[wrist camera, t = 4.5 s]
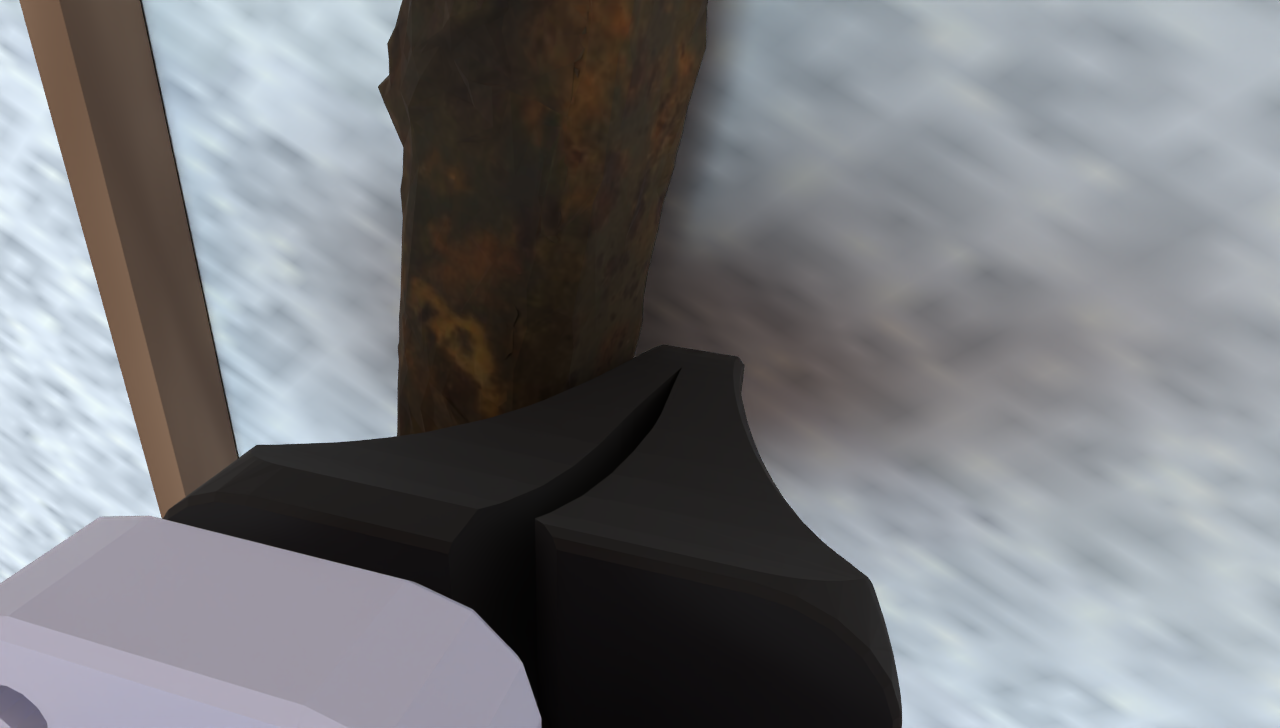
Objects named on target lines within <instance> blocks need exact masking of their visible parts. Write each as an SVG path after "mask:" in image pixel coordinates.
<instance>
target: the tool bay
mask: <svg viewBox="0 0 1280 728" xmlns="http://www.w3.org/2000/svg"><path fill="white" fill-rule="evenodd" d="M20 4H21V8H22V11H23V15H24V19H25V22H26V26H27V30H28V33H29V37H30V40H31V44H32V48H33V51H34V55H35V59H36V62H37V66H38V70H39V73H40V77H41V80H42V84H43V88H44V91H45V95H46V99H47V102H48V106H49V110H50V113H51V117H52V120H53V124H54V128H55V131H56V135H57V139H58V142H59V146H60V150H61V153H62V157H63V160H64V164H65V168H66V171H67V175H68V179H69V182H70V186H71V190H72V193H73V197H74V200H75V204H76V208H77V211H78V215H79V219H80V222H81V226H82V230H83V233H84V237H85V240H86V244H87V248H88V251H89V255H90V259H91V262H92V266H93V270H94V273H95V277H96V280H97V284H98V288H99V291H100V295H101V299H102V302H103V306H104V310H105V313H106V317H107V321H108V324H109V328H110V331H111V335H112V339H113V342H114V346H115V350H116V353H117V357H118V361H119V364H120V368H121V371H122V375H123V379H124V382H125V386H126V390H127V393H128V397H129V401H130V404H131V408H132V411H133V415H134V419H135V422H136V426H137V430H138V433H139V437H140V441H141V444H142V448H143V451H144V455H145V459H146V462H147V466H148V470H149V473H150V477H151V481H152V484H153V488H154V491H155V495H156V499H157V502H158V506H159V510H160V513H161V517H162V519H163V517H164V516H165V514H166V513H167V511H168V509H170V508H171V507H173V506H174V505H175V504H177V503H178V502H179V501H181V500H182V499H183V498H185V497H186V496H188V495H189V494H190V493H192V492H193V491H194V490H196V489H197V488H199V487H200V486H201V485H203V484H204V483H205V482H207V481H208V480H209V479H211V478H212V477H214V476H215V475H216V474H218V473H219V472H220V471H222V470H223V469H225V468H226V467H227V466H229V465H230V464H231V463H233V462H234V461H235V460H237V459H238V457H237V453H236V448H235V443H234V439H233V434H232V429H231V425H230V420H229V415H228V411H227V406H226V401H225V397H224V392H223V387H222V382H221V378H220V373H219V368H218V364H217V359H216V354H215V350H214V345H213V340H212V336H211V331H210V326H209V322H208V317H207V312H206V307H205V303H204V298H203V293H202V289H201V284H200V279H199V275H198V270H197V265H196V261H195V256H194V251H193V247H192V242H191V237H190V233H189V228H188V223H187V218H186V214H185V209H184V204H183V200H182V195H181V190H180V186H179V181H178V176H177V172H176V167H175V162H174V158H173V153H172V148H171V144H170V139H169V134H168V129H167V125H166V120H165V115H164V111H163V106H162V101H161V97H160V92H159V87H158V83H157V78H156V73H155V69H154V64H153V59H152V54H151V50H150V45H149V40H148V36H147V31H146V26H145V22H144V17H143V12H142V8H141V3H140V0H20Z"/></svg>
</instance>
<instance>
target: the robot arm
mask: <svg viewBox="0 0 1280 728" xmlns="http://www.w3.org/2000/svg"><path fill="white" fill-rule="evenodd" d="M743 374H744V364H743V363H742V361H741V360H740V359H739V357H737V356H731V355H724V354H718V353H712V352H706V351H700V350H693V349H687V348H681V347H675V346H668V345H661V346H658V347H656V348H653V349H651V350H649V351H647V352H645V353H643V354H641V355H639V356H637V357H635V358H633V359H631V360H629V361H627V362H625V363H624V364H622V365H620V366H618V367H616V368H614V369H612V370H610V371H608V372H606V373H604V374H602V375H600V376H598V377H596V378H594V379H591V380H589V381H587V382H585V383H583V384H580V385H578V386H576V387H573V388H571V389H569V390H566V391H564V392H562V393H559V394H557V395H555V396H552V397H550V398H548V399H545V400H543V401H540V402H538V403H535V404H532V405H529V406H526V407H523V408H521V409H517V410H514V411H511V412H508V413H504V414H501V415H498V416H495V417H491V418H487V419H484V420H480V421H475V422H471V423H466V424H461V425H457V426H452V427H447V428H443V429H438V430H433V431H429V432H423V433H417V434H410V435H403V436H396V437H389V438H380V439H371V440H362V441H350V442H337V443H311V444H285V445H256V446H255V447H253V448H252V449H251V450H249V451H248V452H246V453H245V454H244V455H242V456H241V457H240V458H238V459H237V460H235V461H234V462H233V463H231V464H230V465H229V466H227V467H226V468H225V469H223V470H222V471H220V472H219V473H218V474H216V475H215V476H214V477H212V478H211V479H209V480H208V481H207V482H205V483H204V484H203V485H201V486H200V487H199V488H197V489H196V490H194V491H193V492H192V493H190V494H189V495H188V496H186V497H185V498H183V499H182V500H181V501H179V502H178V503H177V504H175V505H174V506H173V507H171V508H170V509H168V511H167V513H166V514H165V516H164V517H163V519H161V518H156V517H152V516H110V517H99V518H97V519H96V520H94V521H93V522H91V523H90V524H88V525H87V526H85V527H84V528H82V529H81V530H79V531H78V532H76V533H75V534H74V535H72V536H71V537H69V538H68V539H66V540H65V541H63V542H62V543H60V544H59V545H57V546H56V547H54V548H53V549H51V550H50V551H48V552H47V553H45V554H44V555H42V556H41V557H39V558H38V559H36V560H35V561H33V562H32V563H30V564H29V565H27V566H26V567H24V568H23V569H21V570H20V571H18V572H17V573H15V574H14V575H12V576H11V577H9V578H8V579H6V580H5V581H3V582H2V583H0V728H902V705H901V695H900V688H899V682H898V676H897V670H896V665H895V660H894V655H893V651H892V647H891V643H890V639H889V635H888V632H887V628H886V624H885V621H884V618H883V614H882V611H881V608H880V605H879V602H878V599H877V596H876V593H875V590H874V587H873V584H872V583H871V581H870V580H869V578H868V577H867V576H866V575H864V574H863V573H862V572H860V571H859V570H858V569H857V568H855V567H854V566H853V565H851V564H850V563H849V562H848V561H846V560H845V559H844V558H842V557H841V556H840V555H838V554H837V553H836V552H835V551H833V550H832V549H831V548H829V547H828V546H827V545H826V544H825V543H824V542H822V541H821V540H820V539H819V538H818V537H817V536H816V535H815V534H814V533H813V532H812V531H811V530H810V529H809V528H808V527H807V526H806V525H805V524H804V523H803V522H802V521H801V519H800V518H799V517H798V516H797V514H796V513H795V512H794V511H793V509H792V508H791V507H790V506H789V504H788V503H787V502H786V501H785V499H784V498H783V496H782V495H781V493H780V491H779V490H778V488H777V487H776V485H775V483H774V482H773V480H772V478H771V477H770V475H769V473H768V471H767V469H766V467H765V465H764V463H763V461H762V459H761V457H760V455H759V453H758V450H757V448H756V445H755V443H754V440H753V437H752V435H751V432H750V429H749V426H748V422H747V419H746V415H745V410H744V406H743V402H742V396H741V391H742V382H743Z"/></svg>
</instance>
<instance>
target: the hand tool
mask: <svg viewBox="0 0 1280 728" xmlns="http://www.w3.org/2000/svg"><path fill="white" fill-rule="evenodd" d="M707 3H708V0H403V1H402V4H401V7H400V11H399V15H398V19H397V22H396V26H395V29H394V31H393V33H392V35H391V37H390V39H389V42H388V54H389V76H388V77H387V78H386V79H385V80H384V81H383V82H382V83H381V84H380V85H379V86H378V88H379V91H380V93H381V96H382V98H383V101H384V103H385V106H386V108H387V110H388V112H389V115H390V117H391V119H392V122H393V124H394V126H395V129H396V131H397V133H398V136H399V138H400V140H401V143H402V145H403V147H404V148H403V177H402V183H401V201H402V213H403V226H402V262H401V299H400V312H399V345H398V356H399V369H398V428H397V436H403V435H410V434H417V433H423V432H429V431H433V430H438V429H443V428H447V427H452V426H457V425H461V424H466V423H471V422H475V421H480V420H484V419H487V418H491V417H495V416H498V415H501V414H504V413H508V412H511V411H514V410H517V409H521V408H523V407H526V406H529V405H532V404H535V403H538V402H540V401H543V400H545V399H548V398H550V397H552V396H555V395H557V394H559V393H562V392H564V391H566V390H569V389H571V388H573V387H576V386H578V385H580V384H583V383H585V382H587V381H589V380H591V379H594V378H596V377H598V376H600V375H602V374H604V373H606V372H608V371H610V370H612V369H614V368H616V367H618V366H620V365H622V364H624V363H625V362H627V361H629V360H631V359H633V357H634V354H635V350H636V346H637V342H638V338H639V334H640V330H641V325H642V320H643V297H644V291H645V285H646V279H647V273H648V269H649V265H650V261H651V256H652V252H653V248H654V244H655V240H656V236H657V231H658V227H659V221H660V216H661V211H662V206H663V202H664V199H665V195H666V192H667V189H668V185H669V182H670V179H671V175H672V172H673V169H674V164H675V159H676V154H677V151H678V147H679V144H680V140H681V137H682V133H683V128H684V123H685V118H686V113H687V107H688V104H689V101H690V98H691V94H692V91H693V88H694V85H695V81H696V78H697V75H698V71H699V68H700V65H701V62H702V58H703V55H704V52H705V49H706V19H707Z"/></svg>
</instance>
